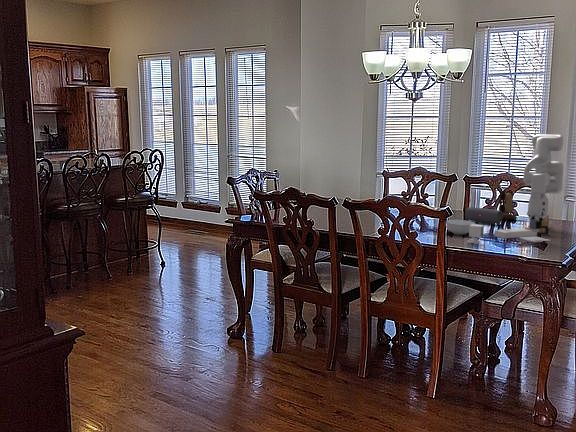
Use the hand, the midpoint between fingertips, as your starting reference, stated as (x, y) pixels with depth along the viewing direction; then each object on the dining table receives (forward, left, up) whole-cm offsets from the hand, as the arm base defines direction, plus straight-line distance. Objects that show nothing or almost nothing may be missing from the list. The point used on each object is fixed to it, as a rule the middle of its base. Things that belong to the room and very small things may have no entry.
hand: (535, 227), depth 337 cm
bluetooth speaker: (-10, -57, -7) cm, 58 cm away
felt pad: (0, 0, -7) cm, 7 cm away
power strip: (+2, -13, -7) cm, 15 cm away
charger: (0, 0, -2) cm, 2 cm away
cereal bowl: (+28, -31, -7) cm, 42 cm away
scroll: (-34, -64, -7) cm, 73 cm away
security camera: (+38, -4, -7) cm, 39 cm away
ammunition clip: (-16, -14, -7) cm, 23 cm away
